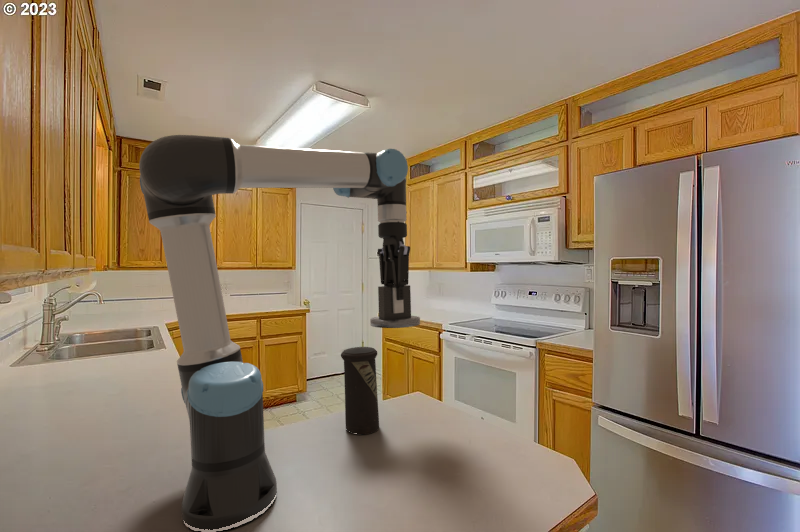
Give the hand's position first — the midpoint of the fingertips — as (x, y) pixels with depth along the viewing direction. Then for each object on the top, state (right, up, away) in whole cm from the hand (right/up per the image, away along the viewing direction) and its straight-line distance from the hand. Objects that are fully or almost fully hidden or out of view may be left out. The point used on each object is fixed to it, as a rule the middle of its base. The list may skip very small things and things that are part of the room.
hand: (394, 311), depth 102 cm
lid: (0, -3, 0) cm, 3 cm away
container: (-8, -29, -5) cm, 30 cm away
